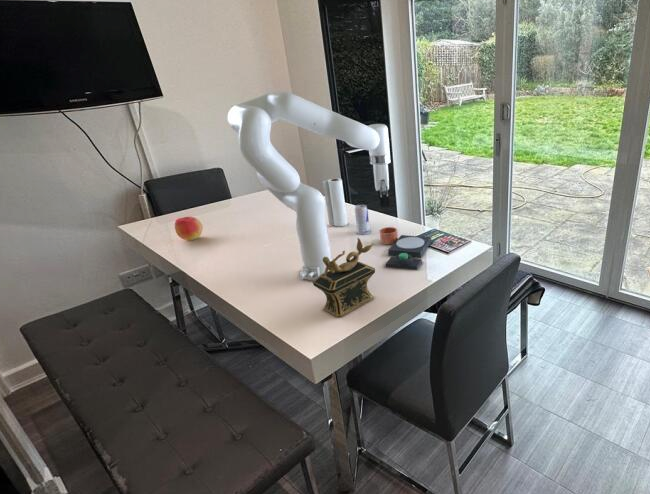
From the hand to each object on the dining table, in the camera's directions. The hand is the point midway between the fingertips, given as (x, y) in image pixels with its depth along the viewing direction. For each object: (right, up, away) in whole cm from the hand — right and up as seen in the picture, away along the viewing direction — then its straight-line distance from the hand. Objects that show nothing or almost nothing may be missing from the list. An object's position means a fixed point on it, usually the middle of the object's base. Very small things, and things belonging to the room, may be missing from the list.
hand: (384, 202), depth 158 cm
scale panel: (+9, -24, -7) cm, 26 cm away
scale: (+10, -18, +6) cm, 21 cm away
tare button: (+9, -21, -8) cm, 25 cm away
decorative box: (-4, -34, -30) cm, 45 cm away
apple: (-86, -14, +17) cm, 89 cm away
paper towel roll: (-27, -7, +31) cm, 42 cm away
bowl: (0, -15, +12) cm, 19 cm away
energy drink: (-13, -11, +22) cm, 28 cm away
